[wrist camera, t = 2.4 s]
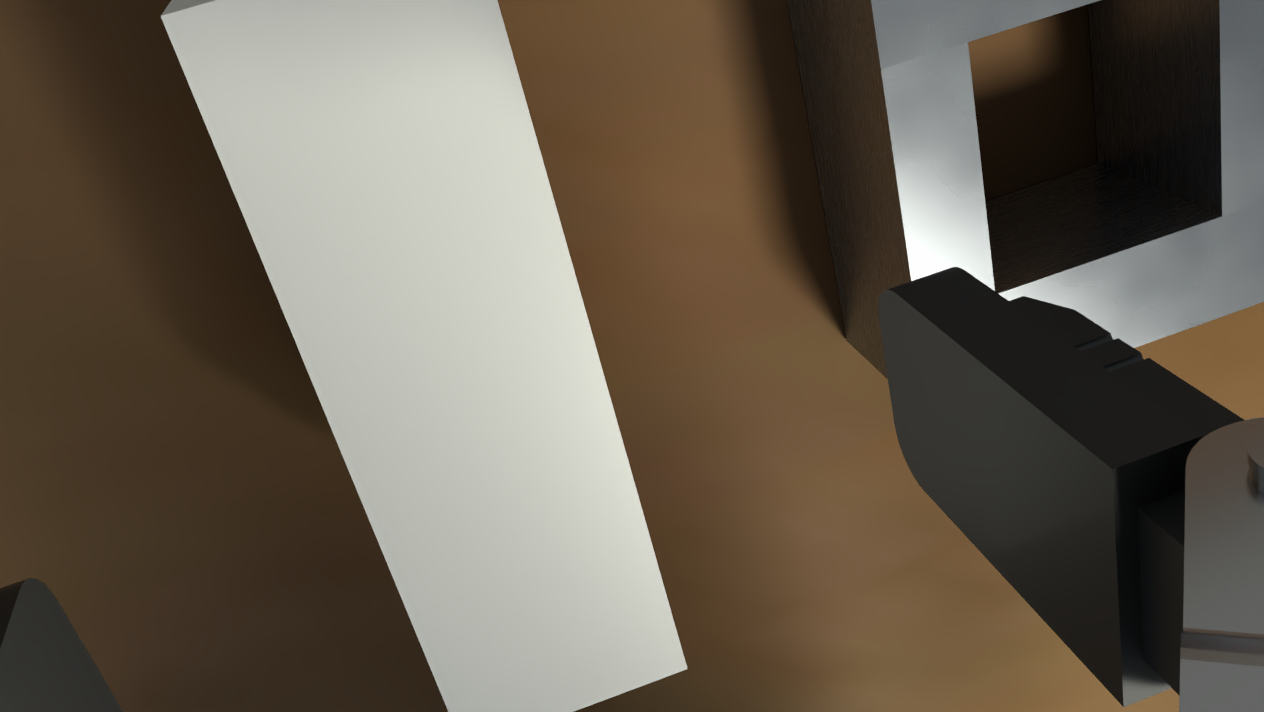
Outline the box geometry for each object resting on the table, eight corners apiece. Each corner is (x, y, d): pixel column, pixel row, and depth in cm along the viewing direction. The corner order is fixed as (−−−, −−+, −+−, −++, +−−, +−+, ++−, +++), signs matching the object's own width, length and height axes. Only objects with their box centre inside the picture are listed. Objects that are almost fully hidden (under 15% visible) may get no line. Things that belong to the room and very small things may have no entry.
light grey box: (580, 437, 23) (687, 669, 16) (418, 494, 22) (465, 752, 16) (414, -110, 18) (476, -75, 12) (207, -52, 18) (159, 15, 12)
